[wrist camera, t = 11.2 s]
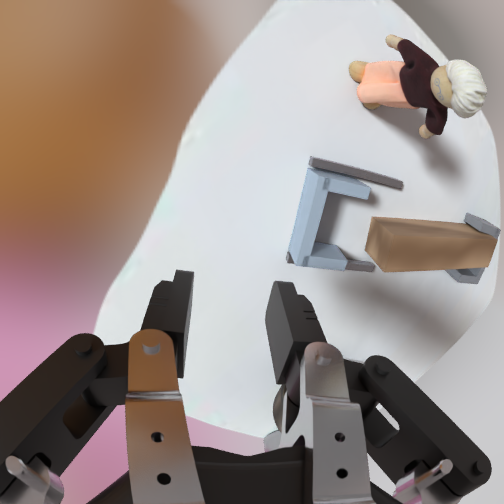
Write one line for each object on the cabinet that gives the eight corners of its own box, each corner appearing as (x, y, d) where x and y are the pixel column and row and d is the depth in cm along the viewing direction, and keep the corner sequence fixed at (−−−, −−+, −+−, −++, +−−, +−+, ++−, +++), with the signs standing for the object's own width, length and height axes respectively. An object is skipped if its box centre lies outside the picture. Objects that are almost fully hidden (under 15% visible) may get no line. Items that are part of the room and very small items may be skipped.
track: (368, 268, 28) (371, 272, 27) (285, 258, 26) (287, 262, 26) (398, 179, 24) (402, 181, 23) (310, 156, 22) (313, 158, 21)
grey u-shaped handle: (464, 271, 30) (477, 284, 27) (444, 269, 29) (458, 282, 26) (485, 220, 26) (500, 229, 24) (466, 212, 26) (483, 223, 23)
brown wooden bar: (466, 249, 28) (488, 267, 24) (363, 248, 27) (383, 272, 23) (474, 223, 27) (497, 239, 23) (370, 215, 25) (393, 235, 21)
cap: (333, 254, 27) (344, 270, 24) (288, 248, 26) (295, 265, 23) (355, 178, 23) (370, 188, 21) (307, 167, 23) (318, 175, 20)
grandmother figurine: (329, 61, 18) (425, 27, 7) (363, 43, 18) (466, 12, 6) (376, 137, 22) (483, 173, 10) (405, 118, 21) (515, 142, 10)
